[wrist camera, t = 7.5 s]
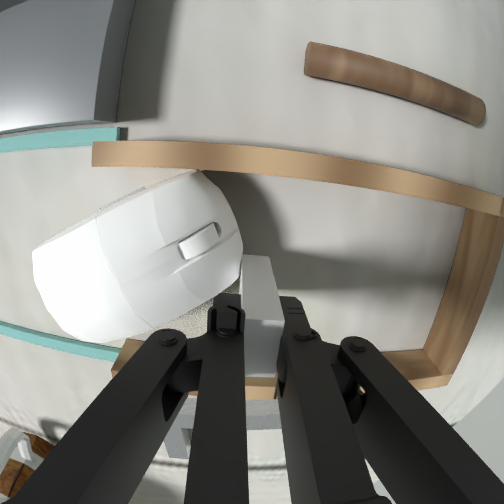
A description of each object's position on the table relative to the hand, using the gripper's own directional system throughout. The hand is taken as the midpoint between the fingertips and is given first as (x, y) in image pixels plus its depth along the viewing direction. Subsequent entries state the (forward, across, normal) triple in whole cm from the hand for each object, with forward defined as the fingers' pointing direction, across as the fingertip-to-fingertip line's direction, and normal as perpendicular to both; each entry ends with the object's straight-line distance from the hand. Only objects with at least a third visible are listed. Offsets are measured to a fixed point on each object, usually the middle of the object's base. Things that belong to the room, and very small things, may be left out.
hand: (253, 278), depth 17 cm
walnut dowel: (+2, +8, +13) cm, 15 cm away
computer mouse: (+2, -7, +1) cm, 7 cm away
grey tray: (+1, -17, +14) cm, 22 cm away
